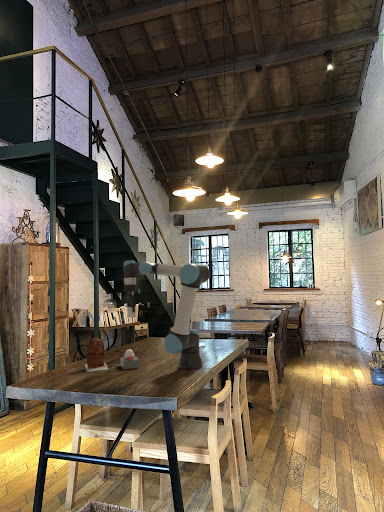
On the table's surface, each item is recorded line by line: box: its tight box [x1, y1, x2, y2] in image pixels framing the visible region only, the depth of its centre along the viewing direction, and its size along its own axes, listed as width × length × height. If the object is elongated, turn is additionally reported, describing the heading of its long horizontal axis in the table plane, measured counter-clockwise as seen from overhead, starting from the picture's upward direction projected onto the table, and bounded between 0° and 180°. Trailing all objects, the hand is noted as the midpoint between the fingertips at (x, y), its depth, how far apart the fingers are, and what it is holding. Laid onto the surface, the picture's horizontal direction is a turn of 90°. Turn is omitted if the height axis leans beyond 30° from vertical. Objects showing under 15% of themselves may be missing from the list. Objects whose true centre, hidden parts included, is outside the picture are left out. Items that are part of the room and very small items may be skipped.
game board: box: [84, 362, 109, 372], centre depth 241 cm, size 22×13×1 cm, turn 18°
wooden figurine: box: [86, 337, 106, 368], centre depth 242 cm, size 12×6×18 cm, turn 147°
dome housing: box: [120, 356, 140, 370], centre depth 239 cm, size 12×10×7 cm
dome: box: [123, 348, 135, 359], centre depth 241 cm, size 6×6×5 cm
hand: (131, 317), depth 244 cm, fingers open, 13 cm apart
